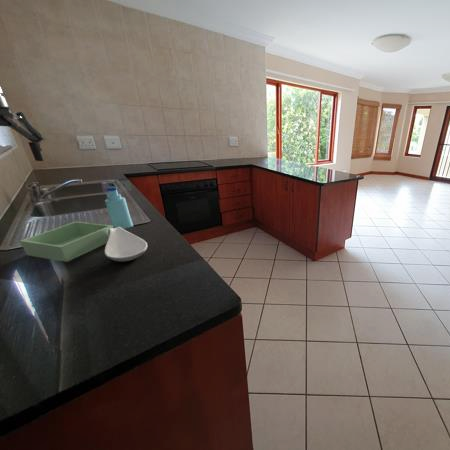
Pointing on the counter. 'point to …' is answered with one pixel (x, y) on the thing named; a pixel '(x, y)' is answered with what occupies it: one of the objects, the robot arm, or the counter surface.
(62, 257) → the bin
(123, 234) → the spoon rest
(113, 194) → the bottle
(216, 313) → the counter surface
